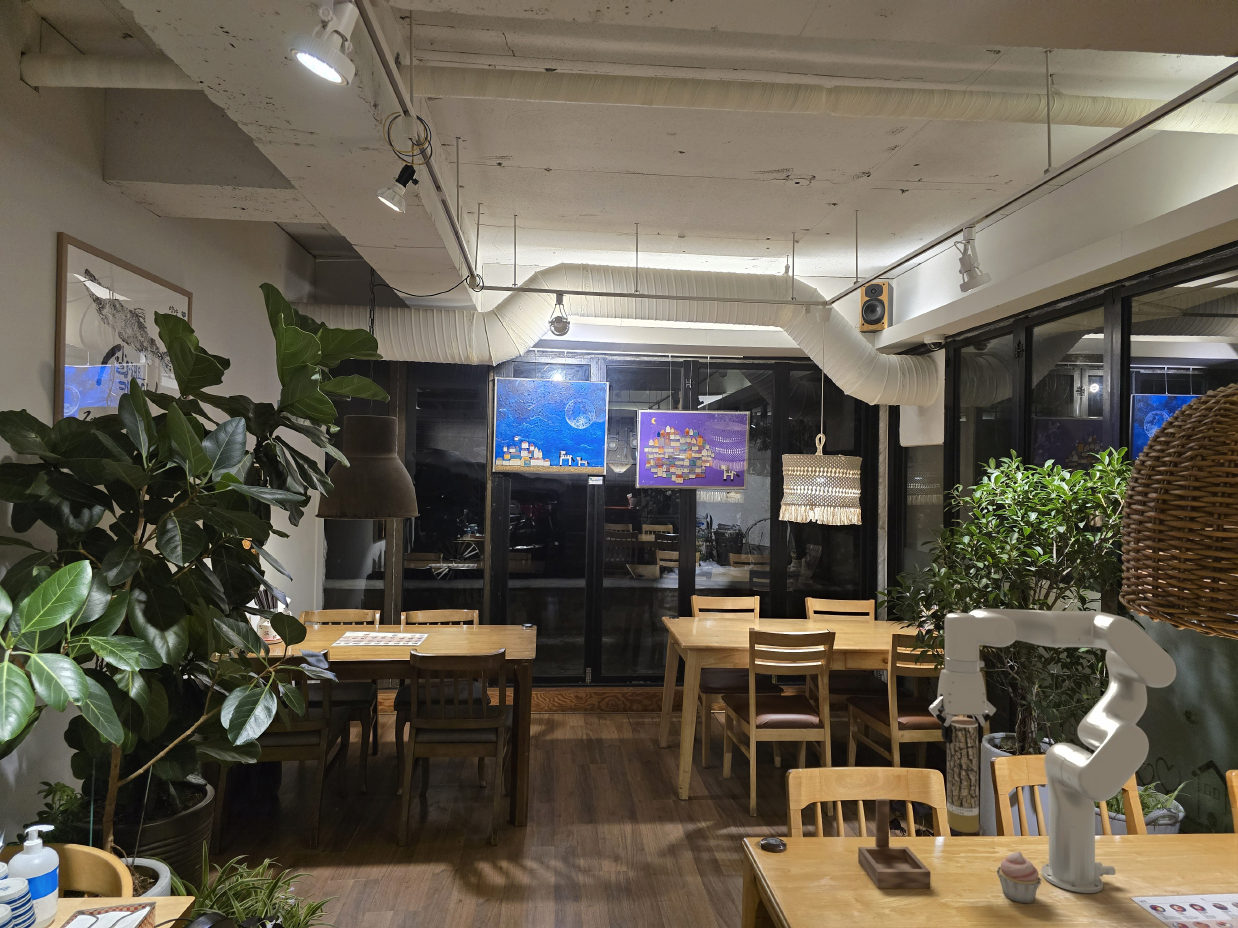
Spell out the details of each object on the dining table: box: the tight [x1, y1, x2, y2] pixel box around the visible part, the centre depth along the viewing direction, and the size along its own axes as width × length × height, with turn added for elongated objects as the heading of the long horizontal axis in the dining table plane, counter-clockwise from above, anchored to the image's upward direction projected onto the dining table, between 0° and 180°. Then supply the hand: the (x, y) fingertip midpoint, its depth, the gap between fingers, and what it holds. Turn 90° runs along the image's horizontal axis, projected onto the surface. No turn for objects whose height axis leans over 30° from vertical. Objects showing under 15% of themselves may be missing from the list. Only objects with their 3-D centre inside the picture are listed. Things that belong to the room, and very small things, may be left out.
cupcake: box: [995, 850, 1043, 904], centre depth 173 cm, size 9×9×10 cm
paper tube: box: [946, 716, 980, 834], centre depth 181 cm, size 7×7×25 cm
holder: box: [857, 798, 931, 889], centre depth 183 cm, size 12×13×15 cm
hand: (962, 740), depth 181 cm, fingers closed on paper tube, 6 cm apart
